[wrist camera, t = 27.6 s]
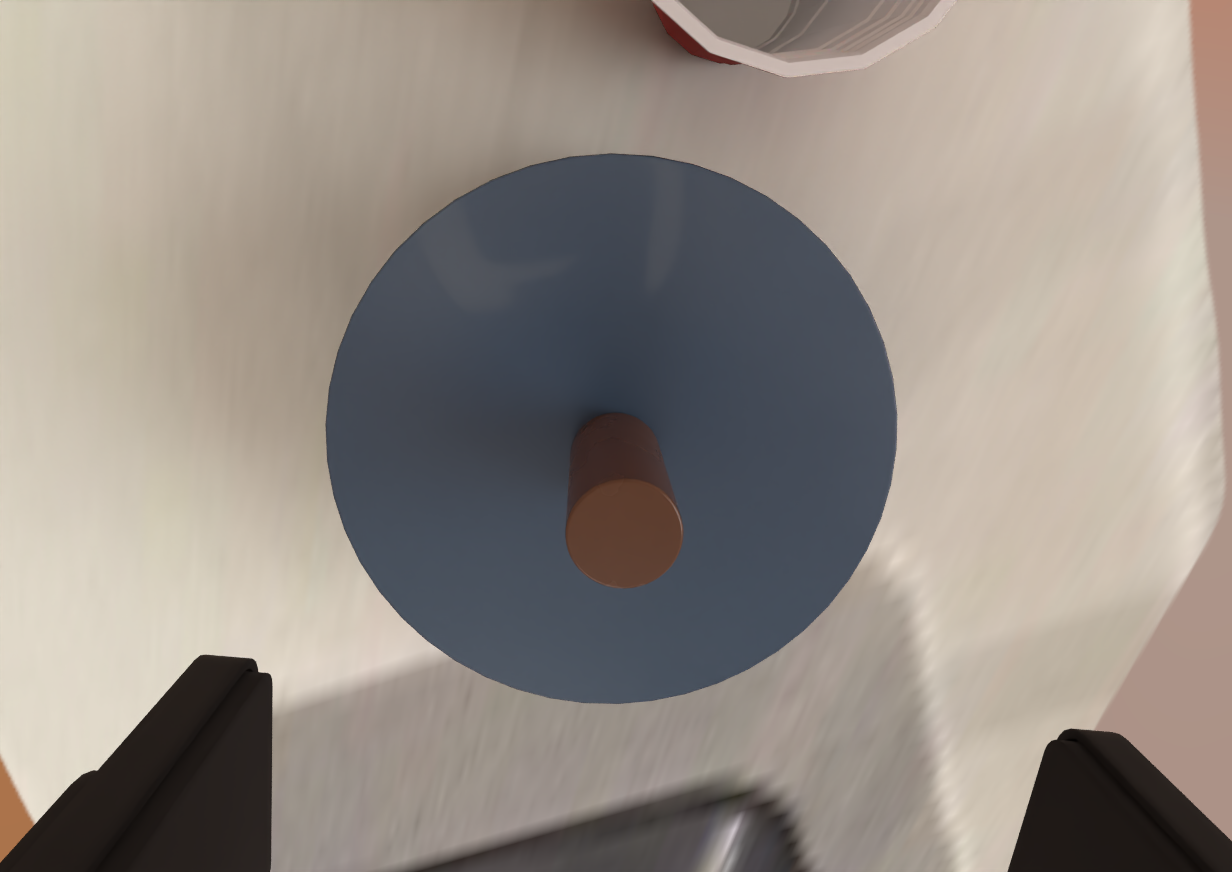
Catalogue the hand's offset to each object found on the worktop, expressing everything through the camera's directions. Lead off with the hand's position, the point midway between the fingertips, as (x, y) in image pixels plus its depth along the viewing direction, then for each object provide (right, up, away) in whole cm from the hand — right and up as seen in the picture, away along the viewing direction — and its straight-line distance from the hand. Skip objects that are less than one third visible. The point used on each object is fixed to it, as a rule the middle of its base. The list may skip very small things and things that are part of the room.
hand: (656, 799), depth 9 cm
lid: (-1, +4, +14) cm, 15 cm away
